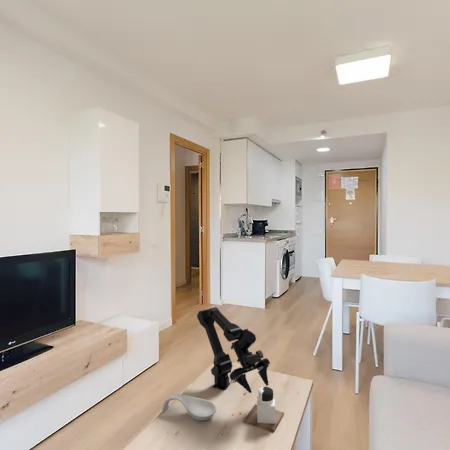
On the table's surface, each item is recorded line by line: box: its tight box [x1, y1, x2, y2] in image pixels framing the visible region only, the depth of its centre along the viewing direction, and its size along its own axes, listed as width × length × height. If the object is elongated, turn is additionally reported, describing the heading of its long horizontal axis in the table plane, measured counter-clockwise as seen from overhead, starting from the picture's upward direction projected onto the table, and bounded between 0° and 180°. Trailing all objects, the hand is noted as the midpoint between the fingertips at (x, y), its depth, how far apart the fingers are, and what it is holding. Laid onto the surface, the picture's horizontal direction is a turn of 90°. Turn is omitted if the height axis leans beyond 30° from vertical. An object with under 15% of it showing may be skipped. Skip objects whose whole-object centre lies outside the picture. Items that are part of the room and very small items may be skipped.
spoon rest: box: [161, 393, 217, 422], centre depth 135 cm, size 24×12×7 cm, turn 74°
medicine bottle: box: [256, 386, 276, 424], centre depth 130 cm, size 7×7×12 cm
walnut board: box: [243, 403, 285, 433], centre depth 131 cm, size 13×12×1 cm
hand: (259, 389), depth 133 cm, fingers open, 9 cm apart
